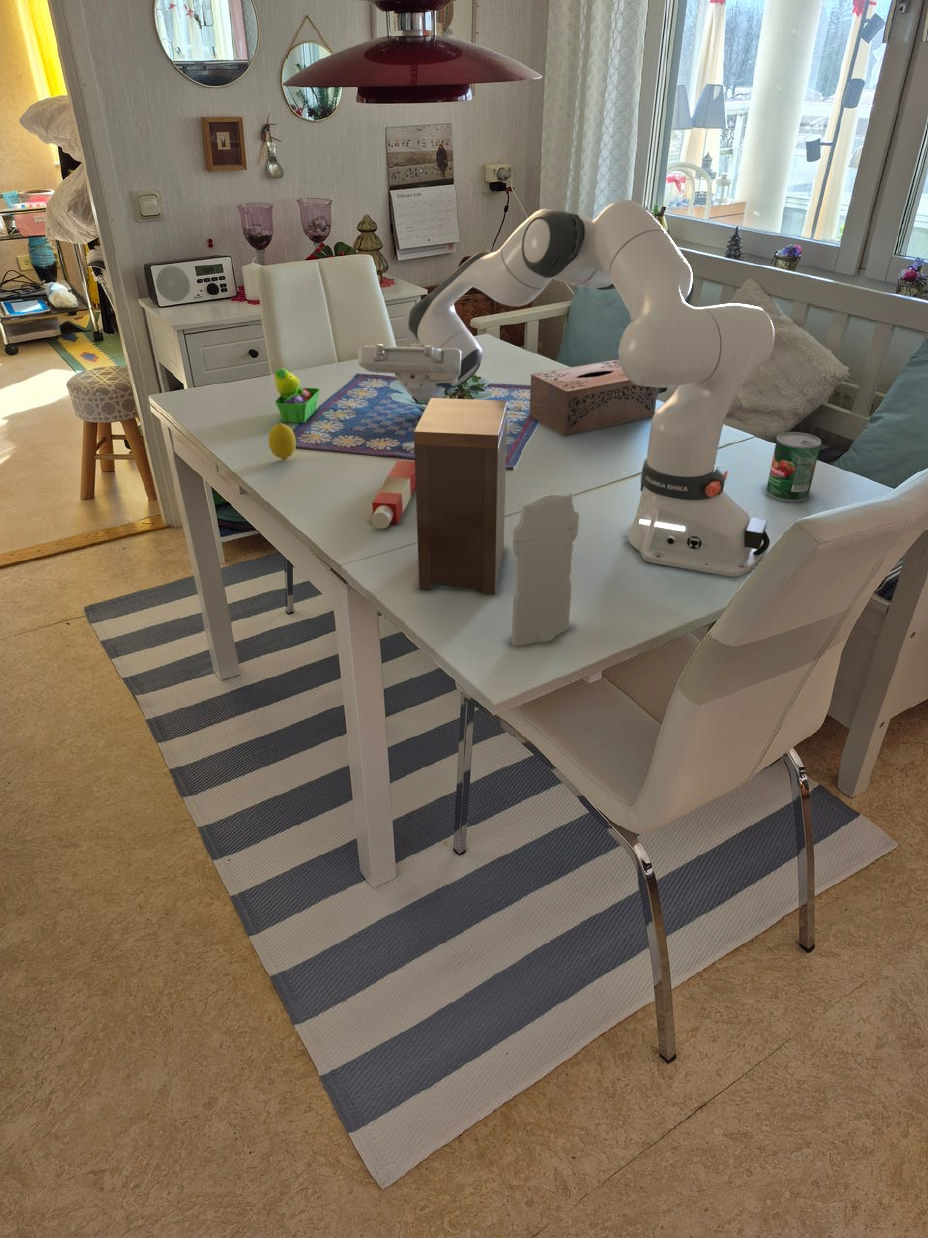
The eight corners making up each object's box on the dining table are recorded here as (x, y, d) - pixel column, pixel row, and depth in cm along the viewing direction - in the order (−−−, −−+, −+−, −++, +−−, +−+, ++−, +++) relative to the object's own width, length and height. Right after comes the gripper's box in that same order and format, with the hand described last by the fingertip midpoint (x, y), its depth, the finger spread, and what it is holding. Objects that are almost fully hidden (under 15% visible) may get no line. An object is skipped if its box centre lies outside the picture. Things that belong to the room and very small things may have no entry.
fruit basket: (308, 425, 198) (303, 376, 192) (271, 423, 199) (265, 374, 193) (322, 409, 207) (318, 362, 201) (287, 407, 209) (282, 360, 202)
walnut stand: (434, 545, 148) (430, 397, 134) (503, 549, 146) (507, 400, 132) (419, 589, 135) (413, 431, 121) (494, 594, 134) (498, 435, 120)
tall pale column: (562, 618, 128) (571, 481, 116) (578, 631, 125) (590, 492, 113) (502, 638, 123) (505, 498, 112) (517, 652, 120) (523, 509, 109)
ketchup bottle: (393, 531, 152) (392, 511, 150) (368, 529, 153) (367, 509, 151) (419, 480, 171) (419, 461, 169) (397, 478, 172) (397, 459, 170)
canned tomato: (757, 492, 166) (768, 438, 160) (780, 481, 170) (791, 428, 164) (794, 505, 161) (806, 450, 155) (816, 494, 165) (829, 440, 159)
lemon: (292, 465, 178) (287, 428, 173) (267, 463, 179) (262, 426, 174) (301, 455, 182) (297, 419, 178) (277, 454, 183) (272, 417, 179)
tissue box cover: (616, 399, 213) (620, 358, 208) (654, 416, 203) (659, 374, 197) (529, 416, 203) (531, 374, 197) (563, 435, 192) (566, 391, 187)
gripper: (366, 350, 175) (350, 330, 161) (466, 353, 173) (458, 333, 159) (365, 381, 175) (348, 364, 162) (464, 385, 173) (455, 367, 159)
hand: (403, 349), depth 160 cm, fingers open, 8 cm apart
